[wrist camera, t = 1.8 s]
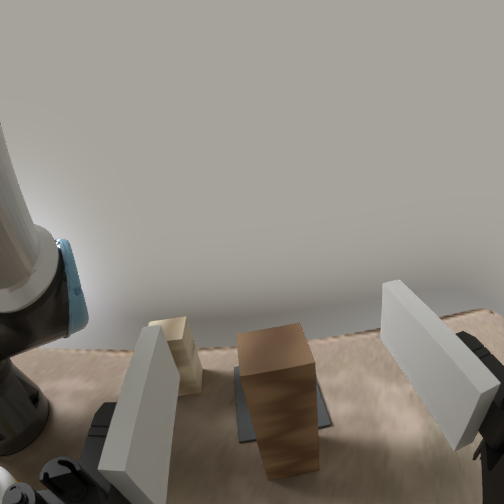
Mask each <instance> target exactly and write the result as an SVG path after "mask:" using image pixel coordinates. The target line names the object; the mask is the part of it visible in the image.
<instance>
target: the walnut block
mask: <svg viewBox="0 0 504 504" xmlns="http://www.w3.org/2000/svg"><path fill="white" fill-rule="evenodd" d="M237 345H238V358H239V371H240V379H241V383H242V387H243V390H244V394H245V398H246V402H247V406H248V410H249V413H250V417H251V421H252V425H253V428H254V432H255V436H256V439H257V443H258V446H259V450H260V454H261V457H262V461H263V464H264V468H265V471H266V475H267V478H268V480H272V479H279V478H284V477H290V476H295V475H300V474H305V473H310V472H314V471H319V440H318V411H317V389H316V370H315V361H314V358H313V356H312V353H311V350H310V348H309V345H308V342H307V340H306V337H305V335H304V332H303V329H302V327H301V324H300V323H295V324H290V325H285V326H280V327H274V328H269V329H263V330H257V331H252V332H246V333H240V334H237Z"/></svg>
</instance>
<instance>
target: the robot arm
mask: <svg viewBox="0 0 504 504" xmlns="http://www.w3.org/2000/svg"><path fill="white" fill-rule="evenodd" d="M381 318H382V319H381V334H380V339H381V340H382V342H383V343H384V345H385V346H386V348H387V349H388V351H389V352H390V353H391V355H392V356H393V358H394V359H395V361H396V362H397V364H398V365H399V367H400V368H401V370H402V371H403V373H404V374H405V376H406V377H407V379H408V380H409V382H410V383H411V385H412V386H413V388H414V389H415V391H416V392H417V394H418V395H419V397H420V399H421V400H422V402H423V403H424V405H425V406H426V408H427V409H428V411H429V413H430V414H431V416H432V417H433V419H434V420H435V422H436V424H437V425H438V427H439V428H440V430H441V432H442V433H443V435H444V436H445V438H446V440H447V441H448V443H449V445H450V446H451V448H452V450H453V451H456V450H458V449H460V448H462V447H464V446H466V445H468V444H470V443H472V442H473V440H474V439H475V437H476V435H477V433H478V431H479V432H480V434H481V435H482V437H483V439H482V441H481V443H480V445H479V446H478V448H477V450H476V451H475V453H474V455H473V460H476V459H477V457H478V455H479V454H480V452H481V457H480V459H481V464H482V486H483V504H504V366H503V365H502V364H501V363H500V362H499V361H498V360H497V358H496V357H495V356H494V355H493V354H491V353H490V351H489V350H488V349H487V348H486V347H485V348H484V345H483V344H482V343H481V342H480V341H479V340H478V339H477V338H476V337H474V336H472V335H470V334H468V333H466V332H464V331H462V332H459V333H457V334H455V333H454V332H453V331H452V330H451V329H450V328H449V327H448V326H447V325H446V324H445V323H444V322H443V321H442V320H441V319H440V318H439V317H438V316H437V315H436V314H435V313H434V312H433V311H432V310H431V309H429V307H427V305H425V304H424V303H423V302H422V301H421V300H420V299H419V298H418V297H417V296H416V295H415V294H414V293H413V292H412V291H411V290H410V289H409V288H408V287H407V286H405V284H403V283H402V282H401V281H400V280H395V281H391V282H386V283H383V294H382V317H381ZM88 320H89V316H88V311H87V306H86V302H85V299H84V295H83V292H82V289H81V284H80V280H79V275H78V272H77V268H76V264H75V260H74V256H73V253H72V249H71V246H70V243H69V242H68V240H65V239H62V240H59V239H57V240H54V238H53V237H52V235H51V234H50V233H49V232H48V231H47V230H46V229H45V228H43V227H41V226H39V225H36V224H33V221H32V219H31V216H30V214H29V211H28V209H27V206H26V203H25V201H24V198H23V195H22V192H21V190H20V187H19V184H18V181H17V178H16V175H15V172H14V169H13V166H12V163H11V160H10V156H9V153H8V149H7V146H6V142H5V139H4V135H3V131H2V127H1V123H0V455H8V454H12V453H15V452H17V451H19V450H21V449H23V448H24V447H26V446H27V445H28V444H30V443H31V442H32V441H33V440H34V439H35V438H36V437H37V436H38V435H39V433H40V432H41V430H42V429H43V427H44V425H45V423H46V421H47V418H48V413H49V405H48V401H47V399H46V397H45V396H44V394H43V393H42V391H41V390H40V388H39V387H38V386H37V385H36V384H35V383H34V382H33V381H32V380H31V379H29V378H28V377H27V376H26V375H25V374H24V373H23V372H22V371H20V370H19V369H18V368H17V367H16V366H15V365H14V364H13V363H12V361H11V359H10V357H13V356H15V355H18V354H21V353H23V352H26V351H29V350H31V349H34V348H37V347H39V346H42V345H44V344H47V343H50V342H52V341H55V340H58V339H60V338H68V337H69V336H70V335H71V334H73V333H75V332H78V331H80V330H82V329H84V328H85V327H86V325H87V324H88ZM179 383H180V375H179V372H178V370H177V367H176V364H175V362H174V359H173V356H172V354H171V351H170V348H169V346H168V343H167V340H166V337H165V334H164V332H163V329H162V326H161V325H154V326H147V327H143V328H142V331H141V334H140V336H139V339H138V342H137V345H136V348H135V350H134V353H133V356H132V359H131V362H130V365H129V368H128V371H127V374H126V376H125V379H124V383H123V386H122V389H121V392H120V395H119V398H118V401H117V402H106V403H103V405H102V406H101V407H100V408H99V409H98V411H97V412H96V413H95V415H94V418H93V421H92V424H91V428H90V430H89V433H88V437H87V438H86V441H85V444H84V447H83V450H82V453H81V457H80V460H79V463H78V462H77V461H75V460H74V459H73V458H70V457H67V456H61V457H56V458H54V459H52V460H50V461H48V462H47V463H46V464H45V465H44V466H43V468H42V470H41V472H40V478H39V481H40V482H41V483H43V484H44V485H45V486H46V487H47V488H48V490H40V491H35V490H34V489H33V488H32V487H31V486H30V485H28V484H27V483H23V482H18V483H14V484H12V485H11V486H9V487H8V488H7V490H6V491H5V493H4V496H3V499H2V504H166V498H167V487H168V476H169V466H170V456H171V447H172V438H173V430H174V421H175V413H176V405H177V398H178V390H179Z"/></svg>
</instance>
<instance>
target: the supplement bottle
mask: <svg viewBox="0 0 504 504" xmlns="http://www.w3.org/2000/svg"><path fill="white" fill-rule="evenodd" d="M14 483H18V481H17V480H16V479H15V478H14V477H13V476H12V475H11V474H10V473H9V472H8V471H7V470H6V469H4V468H3V467H1V466H0V504H2V499H3V496H4V493H5V491H6V490H7V488H8V487H9V486H11V485H12V484H14Z"/></svg>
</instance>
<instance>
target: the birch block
mask: <svg viewBox="0 0 504 504" xmlns="http://www.w3.org/2000/svg"><path fill="white" fill-rule="evenodd" d="M154 325H161V326H162V329H163V332H164V334H165V337H166V340H167V343H168V346H169V348H170V351H171V354H172V356H173V359H174V362H175V364H176V367H177V370H178V372H179V375H180V383H179V390H178V396H181V395H191V394H200V393H201V389H202V372H203V368H202V365H201V362H200V359H199V356H198V353H197V350H196V347H195V344H194V340H193V337H192V334H191V331H190V327H189V324H188V321H187V318H186V317H179V318H172V319H166V320H159V321H152V322H149V325H148V326H154Z"/></svg>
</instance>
